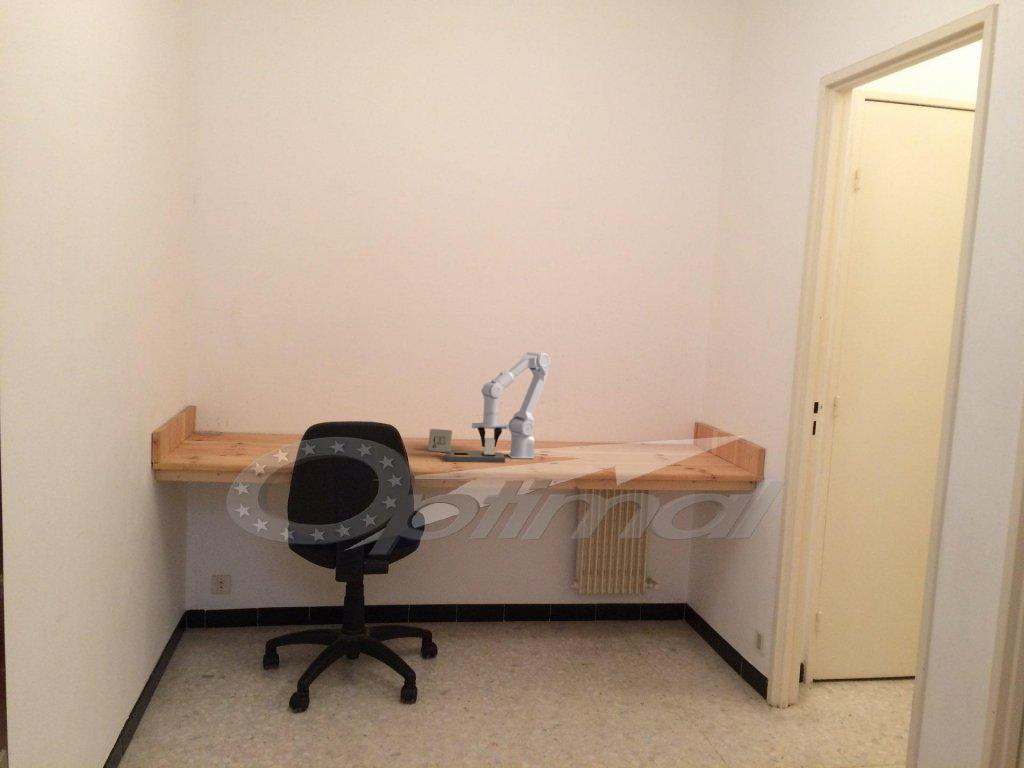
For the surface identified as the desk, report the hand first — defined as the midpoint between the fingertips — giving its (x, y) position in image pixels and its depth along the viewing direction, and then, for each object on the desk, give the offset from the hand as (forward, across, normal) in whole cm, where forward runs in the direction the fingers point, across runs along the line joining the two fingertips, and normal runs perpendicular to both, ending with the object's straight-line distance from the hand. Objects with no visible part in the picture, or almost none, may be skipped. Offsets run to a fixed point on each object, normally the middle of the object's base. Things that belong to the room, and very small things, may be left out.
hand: (488, 446), depth 316 cm
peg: (+3, 0, 0) cm, 3 cm away
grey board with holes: (+5, +6, 0) cm, 8 cm away
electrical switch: (+6, +18, -16) cm, 25 cm away
